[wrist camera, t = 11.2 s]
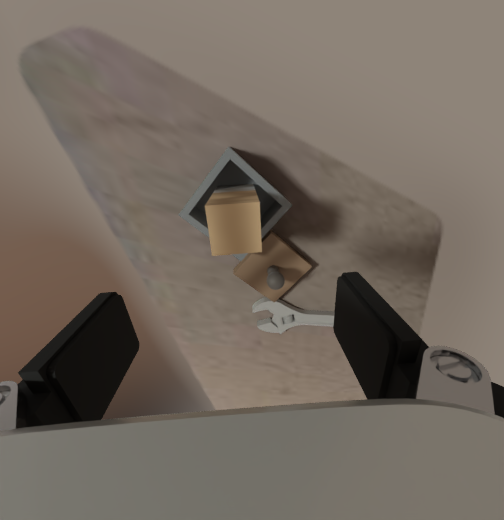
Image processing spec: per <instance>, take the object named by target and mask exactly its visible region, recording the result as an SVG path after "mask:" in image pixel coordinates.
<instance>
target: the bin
mask: <svg viewBox="0 0 504 520" xmlns="http://www.w3.org/2000/svg"><path fill="white" fill-rule="evenodd" d="M240 184H253V185H254V187H255V190H256V193H257V196H258V199H259V201H260V220H261V239H262V238H263V237H264V236H265V235H266V233H267V232H268V231H269V230H270V229H271V228H272V227H273V226H274V225H275V224H276V223H277V221H278V220H279V219H280V218H281V217H282V216H283V215H284V214H285V213H286V212H287V211H288V209H289V208H290V207H291V206H292V204H291V203H290V202H289V201H288V200H287V199H286V198H285V197H284V196H283V195H282V194H281V193H280V192H279V191H278V190H277V189H276V188H275V187H273V186H272V185H271V184H270V183H269V182H268V181H267V180H266V179H265V178H264V177H263V176H261V175H260V174H259V173H258V172H257V171H256V170H255V169H254V168H253V167H252V166H251V165H250V164H248V163H247V162H246V161H245V160H244V159H243V158H242V157H241V156H240V155H239V154H238V153H236V152H235V151H234V150H233V149H232V148H231V147H228V148H227V149H226V151H225V152H224V154H223V155H222V156H221V158H220V159H219V160H218V162H217V163H216V164H215V166H214V167H213V169H212V170H211V171H210V173H209V174H208V175H207V177H206V178H205V179H204V181H203V182H202V183H201V185H200V186H199V188H198V189H197V190H196V192H195V193H194V194H193V196H192V197H191V198H190V200H189V201H188V203H187V204H186V205H185V207H184V208H183V209H182V211H181V212H180V213H179V216H180V217H182V218H183V219H184V220H186V221H187V222H188V223H190V224H191V225H192V226H194V227H195V228H196V229H198V230H199V231H200V232H202V233H203V234H205V235H206V236H207V237H209V231H208V224H207V217H206V211H205V205H206V203H207V202H208V200H209V198H210V197H211V195H212V194H213V192H214V191H215V189H216V187H217V186H226V185H240ZM209 238H210V237H209ZM247 254H248V253H243V254H232V255H233V256H234V257H236V258H237V259H238V260H240V261H242V260H243V259H244V258H245V256H246V255H247Z"/></svg>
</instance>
